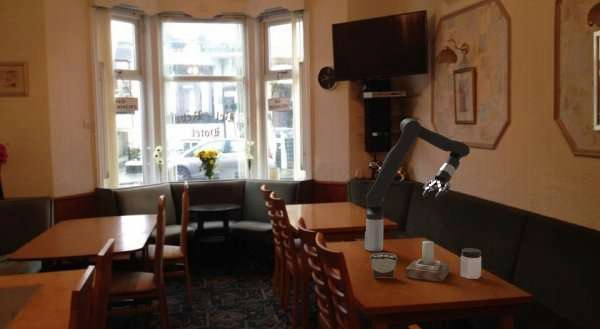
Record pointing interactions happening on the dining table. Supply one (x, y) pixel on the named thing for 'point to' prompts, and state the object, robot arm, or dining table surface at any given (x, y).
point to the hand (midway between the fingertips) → (429, 197)
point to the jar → (471, 263)
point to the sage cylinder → (427, 253)
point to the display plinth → (427, 271)
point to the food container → (383, 265)
